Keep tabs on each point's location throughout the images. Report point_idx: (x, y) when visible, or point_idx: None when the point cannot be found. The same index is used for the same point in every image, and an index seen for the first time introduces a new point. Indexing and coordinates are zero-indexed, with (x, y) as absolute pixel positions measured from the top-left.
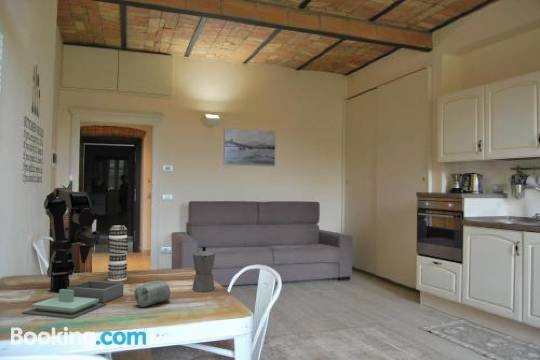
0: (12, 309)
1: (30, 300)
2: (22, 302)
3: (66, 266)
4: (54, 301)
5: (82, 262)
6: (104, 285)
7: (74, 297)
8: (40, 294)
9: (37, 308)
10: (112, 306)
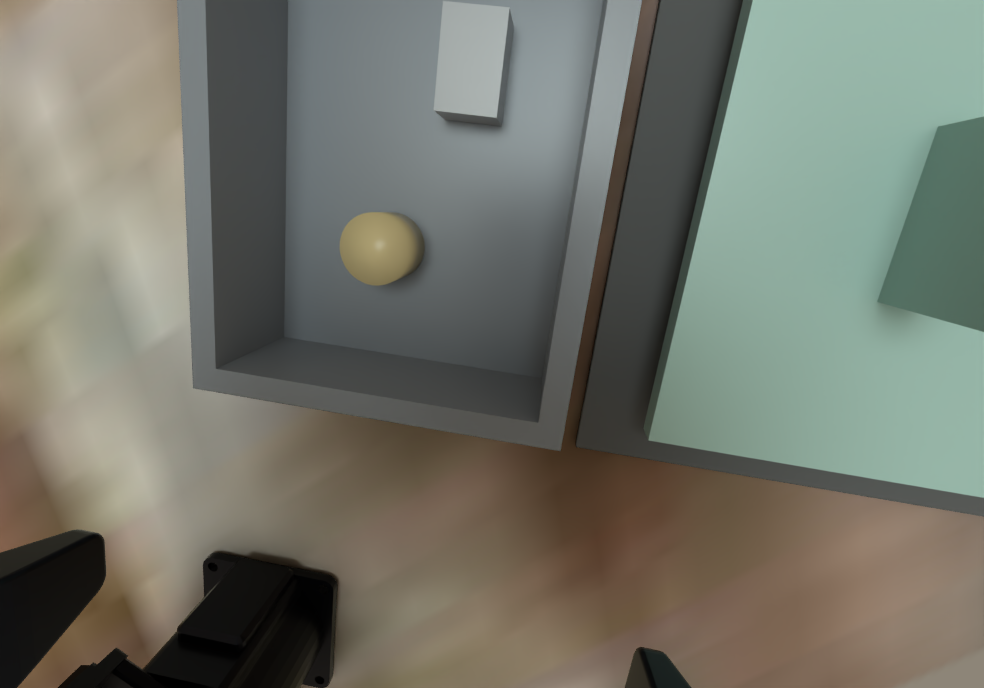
0: (872, 648)
1: (592, 661)
2: None
3: (676, 672)
4: (917, 355)
5: (92, 583)
6: (237, 136)
7: (725, 239)
8: (412, 682)
9: None
10: None
